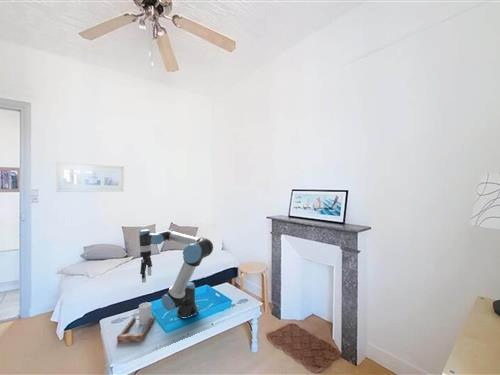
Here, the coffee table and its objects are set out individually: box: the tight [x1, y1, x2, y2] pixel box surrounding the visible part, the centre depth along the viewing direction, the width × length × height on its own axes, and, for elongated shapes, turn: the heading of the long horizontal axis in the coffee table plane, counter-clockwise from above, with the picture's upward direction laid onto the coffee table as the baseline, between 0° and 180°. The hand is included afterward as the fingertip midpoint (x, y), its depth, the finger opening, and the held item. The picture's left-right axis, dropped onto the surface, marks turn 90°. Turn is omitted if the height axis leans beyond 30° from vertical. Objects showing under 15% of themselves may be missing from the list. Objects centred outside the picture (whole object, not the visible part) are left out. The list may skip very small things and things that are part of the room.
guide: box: [116, 315, 156, 344], centre depth 169 cm, size 15×24×4 cm, turn 2°
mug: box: [133, 301, 153, 326], centre depth 179 cm, size 12×8×12 cm
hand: (146, 278), depth 190 cm, fingers open, 13 cm apart
